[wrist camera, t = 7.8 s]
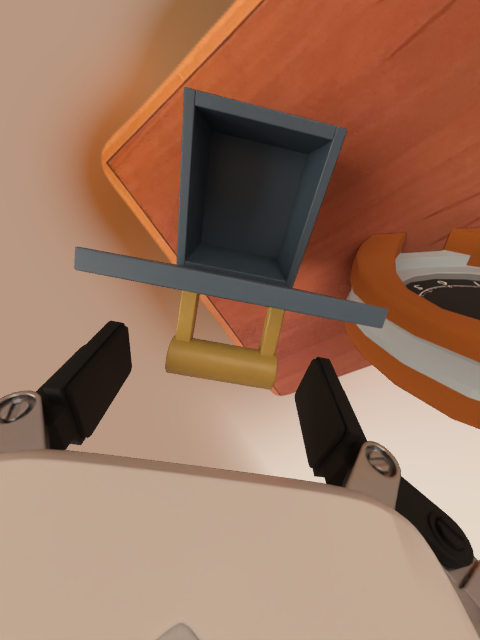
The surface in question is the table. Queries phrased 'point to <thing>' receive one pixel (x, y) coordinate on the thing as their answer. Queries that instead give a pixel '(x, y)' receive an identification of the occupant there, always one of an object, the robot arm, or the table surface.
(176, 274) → the lid
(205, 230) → the chest
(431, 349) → the alarm clock
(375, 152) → the table surface
